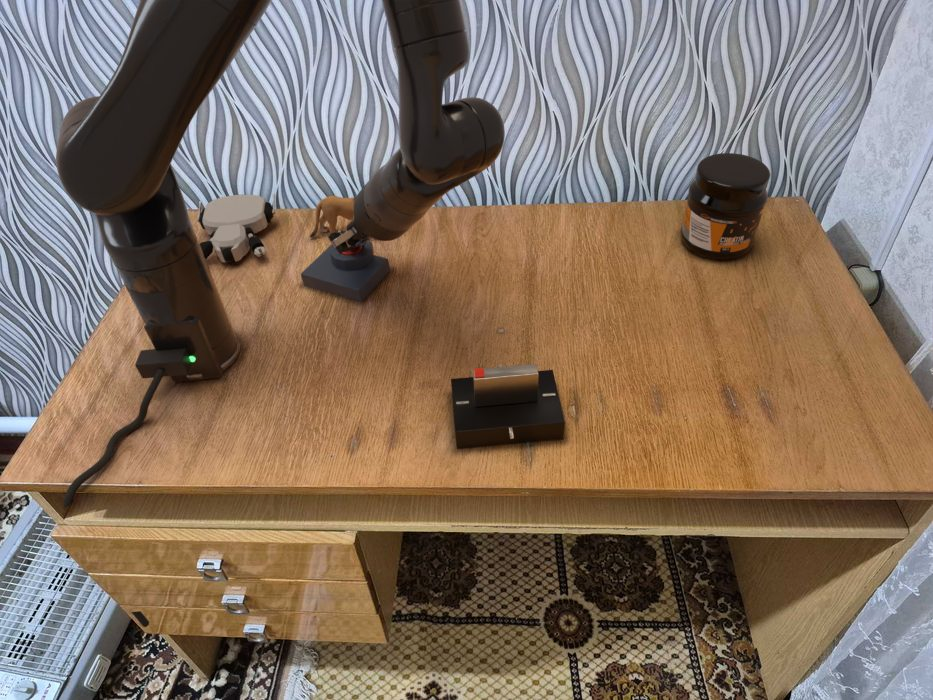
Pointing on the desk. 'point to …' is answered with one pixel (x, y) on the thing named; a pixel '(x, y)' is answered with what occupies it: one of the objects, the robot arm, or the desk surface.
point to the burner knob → (505, 385)
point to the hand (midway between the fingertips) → (350, 244)
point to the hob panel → (507, 416)
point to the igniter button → (352, 252)
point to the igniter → (346, 272)
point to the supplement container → (725, 205)
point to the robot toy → (235, 225)
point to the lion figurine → (333, 212)
